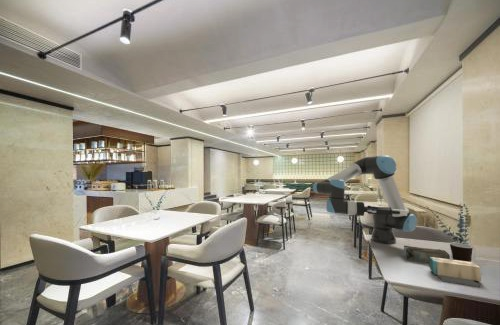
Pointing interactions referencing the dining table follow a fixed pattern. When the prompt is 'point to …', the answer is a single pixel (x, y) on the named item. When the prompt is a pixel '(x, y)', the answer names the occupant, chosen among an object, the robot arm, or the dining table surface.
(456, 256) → the coffee mug
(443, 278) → the rubber mat
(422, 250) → the beverage carton
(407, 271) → the dining table surface
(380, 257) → the dining table surface
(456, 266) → the oak block
